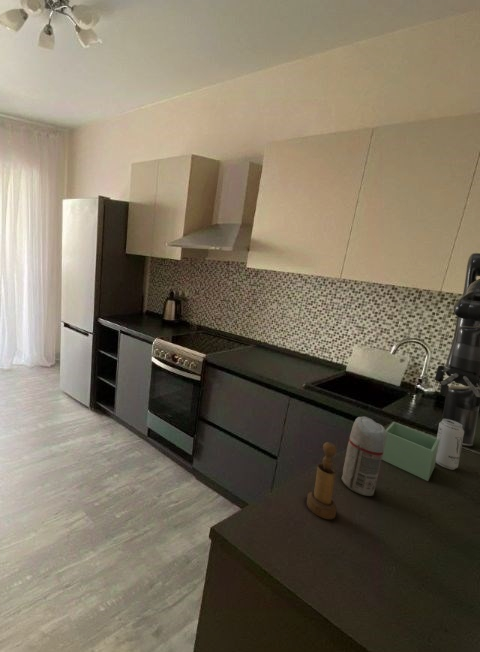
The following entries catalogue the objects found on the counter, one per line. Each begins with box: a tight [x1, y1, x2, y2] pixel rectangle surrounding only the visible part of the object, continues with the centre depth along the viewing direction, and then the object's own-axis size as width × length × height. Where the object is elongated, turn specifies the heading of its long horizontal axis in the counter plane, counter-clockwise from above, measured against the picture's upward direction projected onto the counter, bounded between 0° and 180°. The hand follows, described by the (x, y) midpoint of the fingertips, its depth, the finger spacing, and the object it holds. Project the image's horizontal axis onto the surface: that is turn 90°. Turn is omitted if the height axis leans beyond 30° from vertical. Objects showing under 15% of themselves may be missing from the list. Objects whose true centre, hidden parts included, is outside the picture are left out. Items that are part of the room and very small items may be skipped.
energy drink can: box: [435, 418, 464, 470], centre depth 112 cm, size 6×6×15 cm
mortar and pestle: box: [306, 441, 338, 520], centre depth 86 cm, size 7×6×18 cm
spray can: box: [340, 416, 386, 497], centre depth 96 cm, size 8×8×20 cm
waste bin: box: [381, 421, 439, 482], centre depth 111 cm, size 12×12×10 cm
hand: (459, 400), depth 117 cm, fingers open, 8 cm apart
